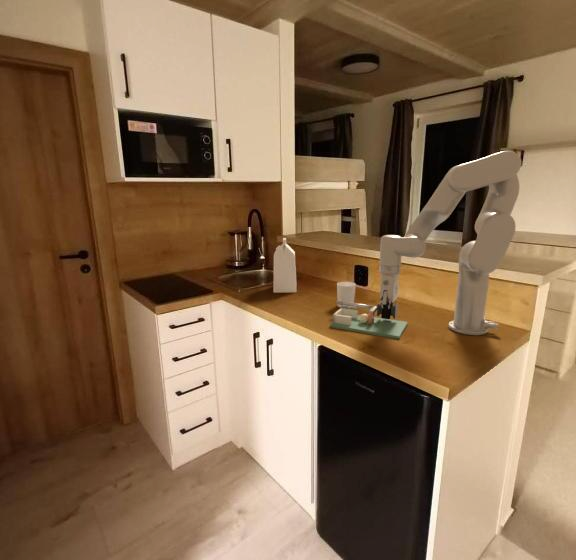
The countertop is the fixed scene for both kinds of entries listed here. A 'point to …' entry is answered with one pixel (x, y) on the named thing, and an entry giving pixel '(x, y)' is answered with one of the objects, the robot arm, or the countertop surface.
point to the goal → (345, 316)
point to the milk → (284, 269)
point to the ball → (364, 318)
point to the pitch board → (374, 326)
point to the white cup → (345, 292)
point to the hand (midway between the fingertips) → (387, 316)
